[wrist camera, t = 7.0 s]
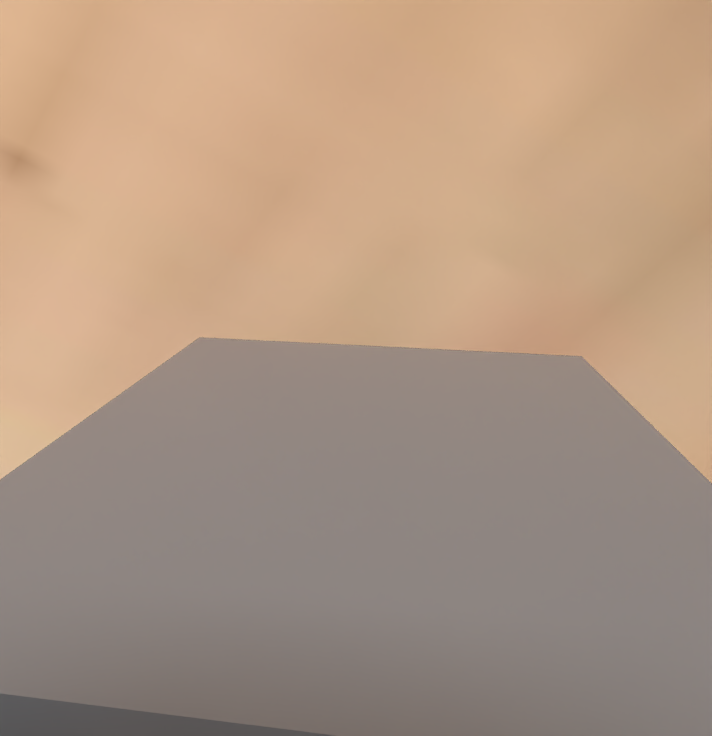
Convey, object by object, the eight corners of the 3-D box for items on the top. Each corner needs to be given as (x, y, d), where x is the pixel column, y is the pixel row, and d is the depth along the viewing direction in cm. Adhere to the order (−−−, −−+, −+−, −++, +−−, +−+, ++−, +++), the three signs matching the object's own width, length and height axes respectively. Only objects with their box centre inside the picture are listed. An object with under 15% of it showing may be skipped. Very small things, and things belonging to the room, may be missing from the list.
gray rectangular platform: (581, 356, 9) (1062, 826, 2) (523, 644, 12) (676, 1242, 5) (199, 337, 10) (-256, 660, 3) (228, 613, 13) (19, 1104, 6)
